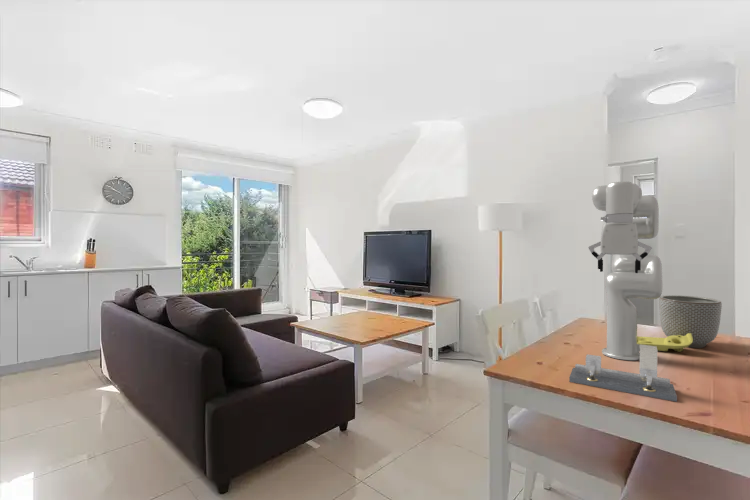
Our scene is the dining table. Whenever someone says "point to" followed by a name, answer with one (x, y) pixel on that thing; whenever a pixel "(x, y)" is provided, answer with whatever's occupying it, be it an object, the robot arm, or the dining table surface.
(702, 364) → the dining table surface
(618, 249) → the robot arm
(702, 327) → the planter
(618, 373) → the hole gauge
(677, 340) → the plastic component
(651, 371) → the grey block with peg
